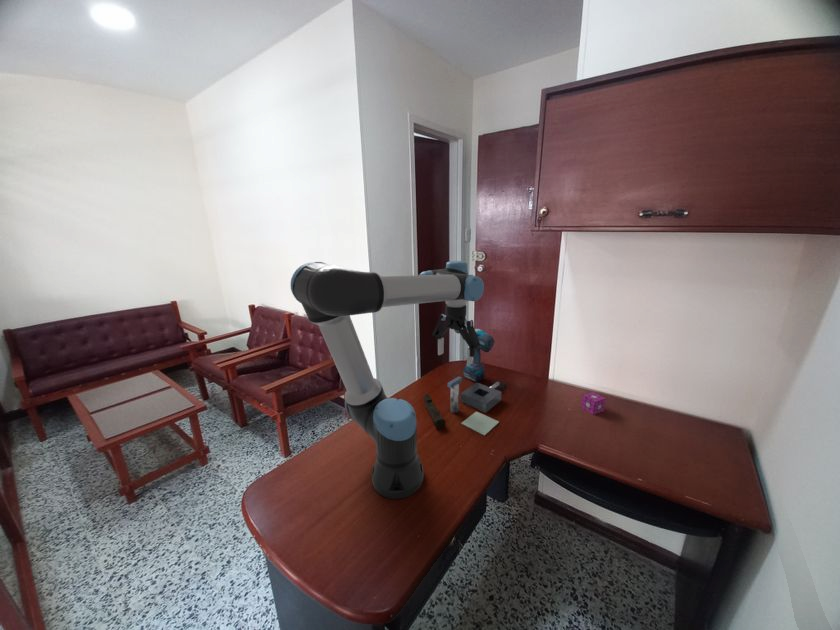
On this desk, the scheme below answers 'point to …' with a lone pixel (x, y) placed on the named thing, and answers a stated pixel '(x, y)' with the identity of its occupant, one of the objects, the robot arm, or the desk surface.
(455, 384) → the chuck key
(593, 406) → the puzzle toy
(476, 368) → the impact wrench
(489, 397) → the block
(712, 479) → the desk surface
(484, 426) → the mat
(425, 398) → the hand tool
